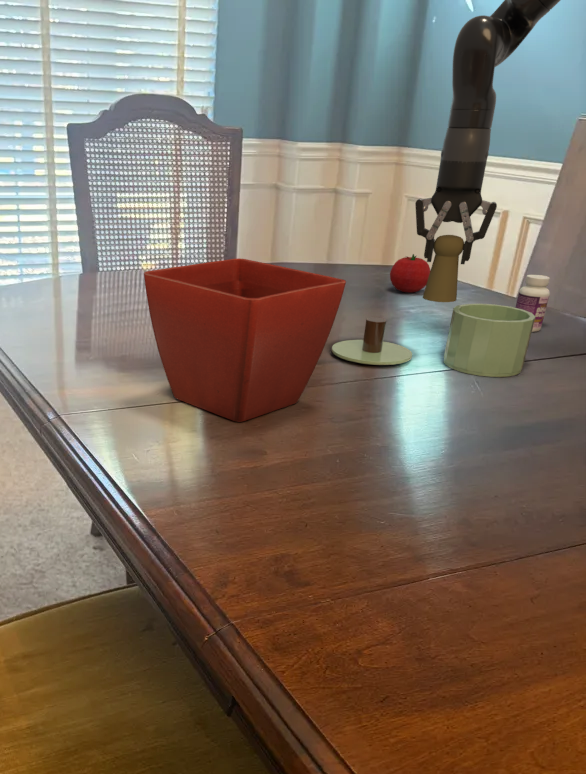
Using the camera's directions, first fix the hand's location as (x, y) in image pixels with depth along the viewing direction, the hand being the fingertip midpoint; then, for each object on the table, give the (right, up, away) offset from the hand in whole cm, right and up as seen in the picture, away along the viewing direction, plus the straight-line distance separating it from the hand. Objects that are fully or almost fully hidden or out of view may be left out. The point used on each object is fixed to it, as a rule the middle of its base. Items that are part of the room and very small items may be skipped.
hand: (445, 262), depth 139 cm
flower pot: (-40, -31, -32) cm, 60 cm away
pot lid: (-16, -19, -12) cm, 28 cm away
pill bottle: (+18, -10, +7) cm, 22 cm away
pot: (+1, -22, -15) cm, 26 cm away
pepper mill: (0, -6, +3) cm, 7 cm away
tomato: (+3, +6, +34) cm, 35 cm away
